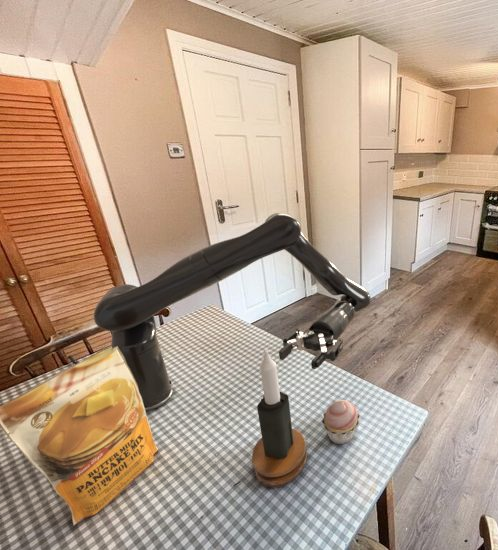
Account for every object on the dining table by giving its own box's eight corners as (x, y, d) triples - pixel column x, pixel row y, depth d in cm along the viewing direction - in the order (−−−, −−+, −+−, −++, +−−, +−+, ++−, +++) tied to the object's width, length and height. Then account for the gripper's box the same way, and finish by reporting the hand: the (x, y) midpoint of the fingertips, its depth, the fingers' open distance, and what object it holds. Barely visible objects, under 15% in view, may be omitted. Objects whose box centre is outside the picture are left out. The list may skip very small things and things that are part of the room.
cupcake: (368, 434, 74) (369, 402, 70) (337, 458, 68) (336, 424, 64) (345, 411, 80) (344, 381, 76) (315, 431, 74) (312, 399, 71)
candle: (284, 460, 62) (271, 360, 53) (262, 455, 63) (245, 356, 54) (295, 439, 67) (284, 344, 58) (274, 435, 68) (260, 341, 59)
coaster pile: (243, 485, 62) (240, 470, 60) (266, 437, 73) (264, 423, 71) (298, 491, 61) (296, 477, 59) (313, 442, 72) (312, 428, 70)
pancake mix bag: (49, 524, 55) (-22, 407, 45) (150, 439, 72) (114, 339, 62) (72, 539, 53) (3, 419, 43) (171, 448, 70) (138, 345, 60)
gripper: (306, 309, 83) (268, 340, 69) (354, 319, 78) (323, 354, 64) (308, 332, 86) (272, 367, 72) (354, 343, 81) (325, 382, 67)
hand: (296, 361), depth 68 cm, fingers open, 8 cm apart
